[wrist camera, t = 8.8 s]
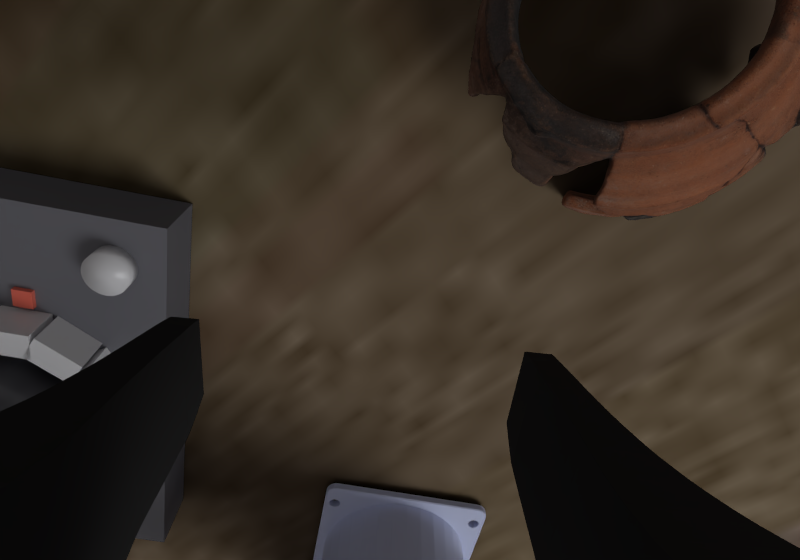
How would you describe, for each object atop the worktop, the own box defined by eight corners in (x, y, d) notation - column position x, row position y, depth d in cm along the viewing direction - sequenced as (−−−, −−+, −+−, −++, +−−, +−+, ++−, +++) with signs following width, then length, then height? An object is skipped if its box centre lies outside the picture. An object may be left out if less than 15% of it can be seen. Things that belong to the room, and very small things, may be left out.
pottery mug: (486, 226, 22) (444, 198, 14) (498, -18, 22) (462, -183, 14) (848, 234, 19) (1056, 205, 11) (866, -52, 19) (1090, -295, 11)
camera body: (183, 498, 29) (151, 571, 25) (-23, 468, 28) (-87, 539, 24) (192, 203, 21) (149, 247, 18) (-87, 151, 20) (-191, 185, 17)
